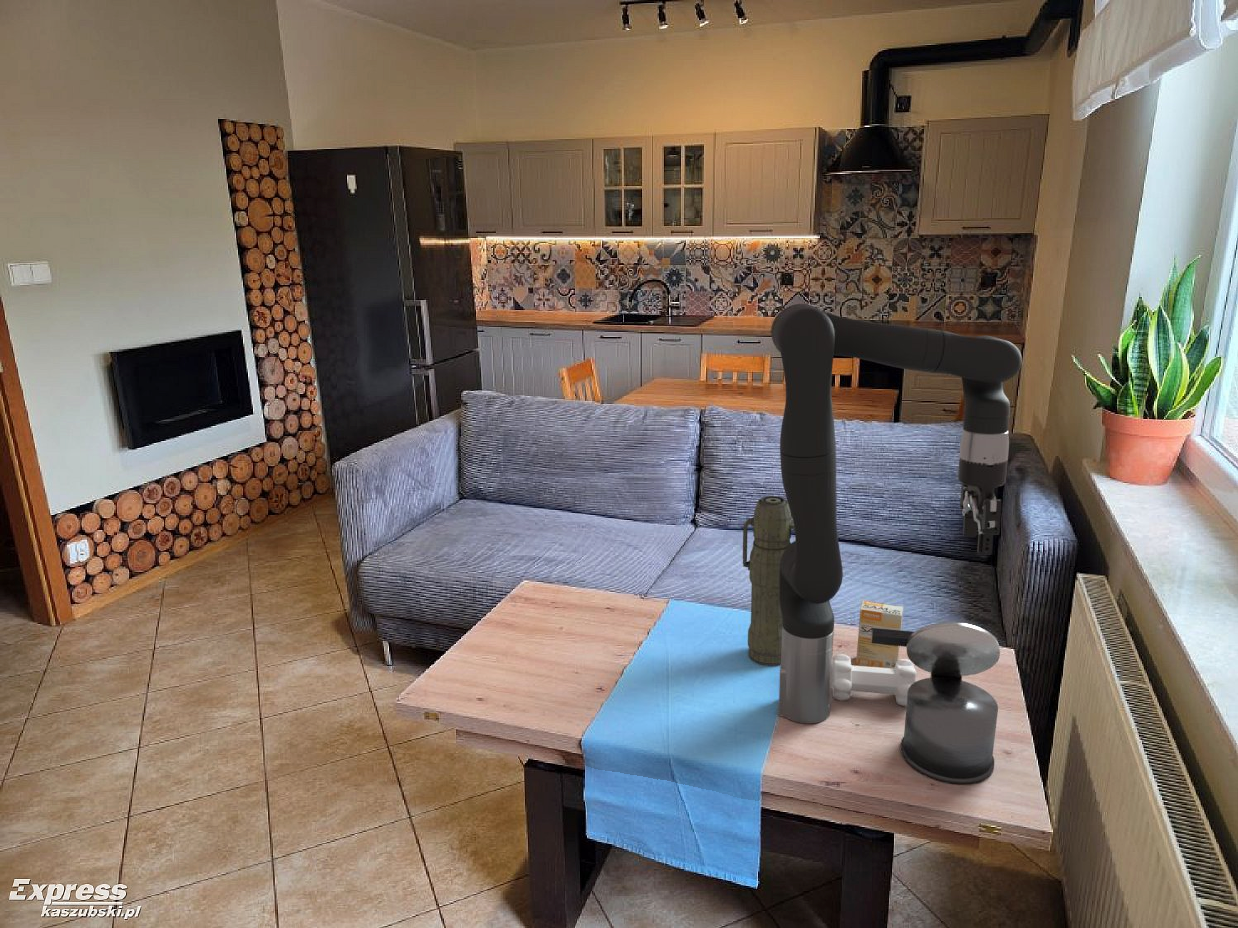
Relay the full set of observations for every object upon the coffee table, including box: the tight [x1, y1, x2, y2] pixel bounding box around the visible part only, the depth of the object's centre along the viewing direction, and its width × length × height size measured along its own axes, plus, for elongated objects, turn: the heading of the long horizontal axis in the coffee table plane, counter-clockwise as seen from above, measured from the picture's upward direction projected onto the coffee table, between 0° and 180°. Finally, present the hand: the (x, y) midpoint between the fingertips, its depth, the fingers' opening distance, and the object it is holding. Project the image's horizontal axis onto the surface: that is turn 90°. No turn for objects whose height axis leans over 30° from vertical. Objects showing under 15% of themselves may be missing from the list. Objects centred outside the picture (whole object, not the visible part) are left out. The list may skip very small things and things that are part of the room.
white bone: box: [831, 653, 917, 707], centre depth 155 cm, size 15×9×8 cm, turn 78°
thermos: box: [742, 495, 795, 668], centre depth 167 cm, size 9×12×35 cm
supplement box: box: [855, 600, 904, 669], centre depth 166 cm, size 8×5×13 cm, turn 68°
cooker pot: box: [900, 674, 999, 786], centre depth 137 cm, size 15×16×11 cm
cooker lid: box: [872, 621, 1001, 679], centre depth 139 cm, size 20×15×3 cm
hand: (976, 545), depth 142 cm, fingers open, 8 cm apart
